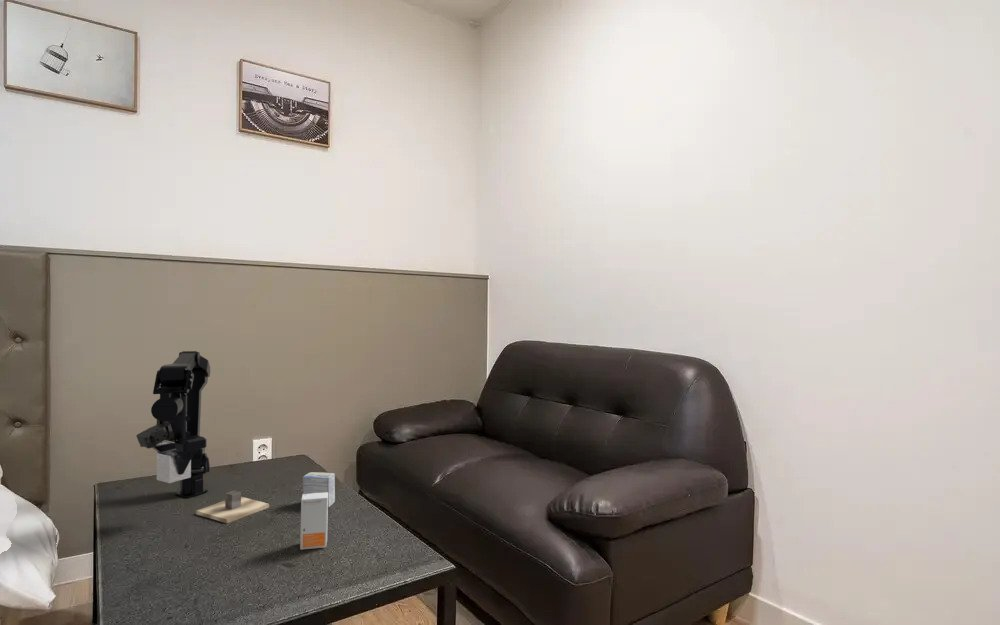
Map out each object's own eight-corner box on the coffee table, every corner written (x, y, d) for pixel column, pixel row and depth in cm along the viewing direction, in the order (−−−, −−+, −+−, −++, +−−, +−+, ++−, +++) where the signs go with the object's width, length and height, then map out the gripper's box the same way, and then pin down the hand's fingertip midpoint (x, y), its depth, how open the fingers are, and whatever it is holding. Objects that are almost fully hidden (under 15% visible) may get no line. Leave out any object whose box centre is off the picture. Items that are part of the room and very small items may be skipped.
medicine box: (335, 502, 158) (335, 472, 157) (328, 508, 153) (329, 477, 153) (309, 501, 158) (309, 471, 158) (302, 506, 154) (302, 476, 154)
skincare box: (299, 550, 126) (300, 499, 126) (301, 543, 130) (301, 493, 130) (327, 548, 128) (327, 497, 128) (327, 540, 132) (328, 491, 132)
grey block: (156, 479, 141) (156, 452, 141) (177, 473, 146) (178, 448, 146) (169, 483, 138) (169, 456, 138) (190, 477, 143) (191, 450, 143)
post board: (195, 514, 147) (196, 495, 147) (238, 499, 159) (238, 482, 159) (227, 523, 141) (227, 504, 141) (268, 507, 153) (269, 489, 153)
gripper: (121, 415, 139) (120, 475, 139) (164, 423, 130) (164, 487, 131) (164, 407, 149) (164, 464, 149) (208, 415, 140) (207, 475, 140)
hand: (174, 472), depth 142 cm, fingers closed on grey block, 6 cm apart
